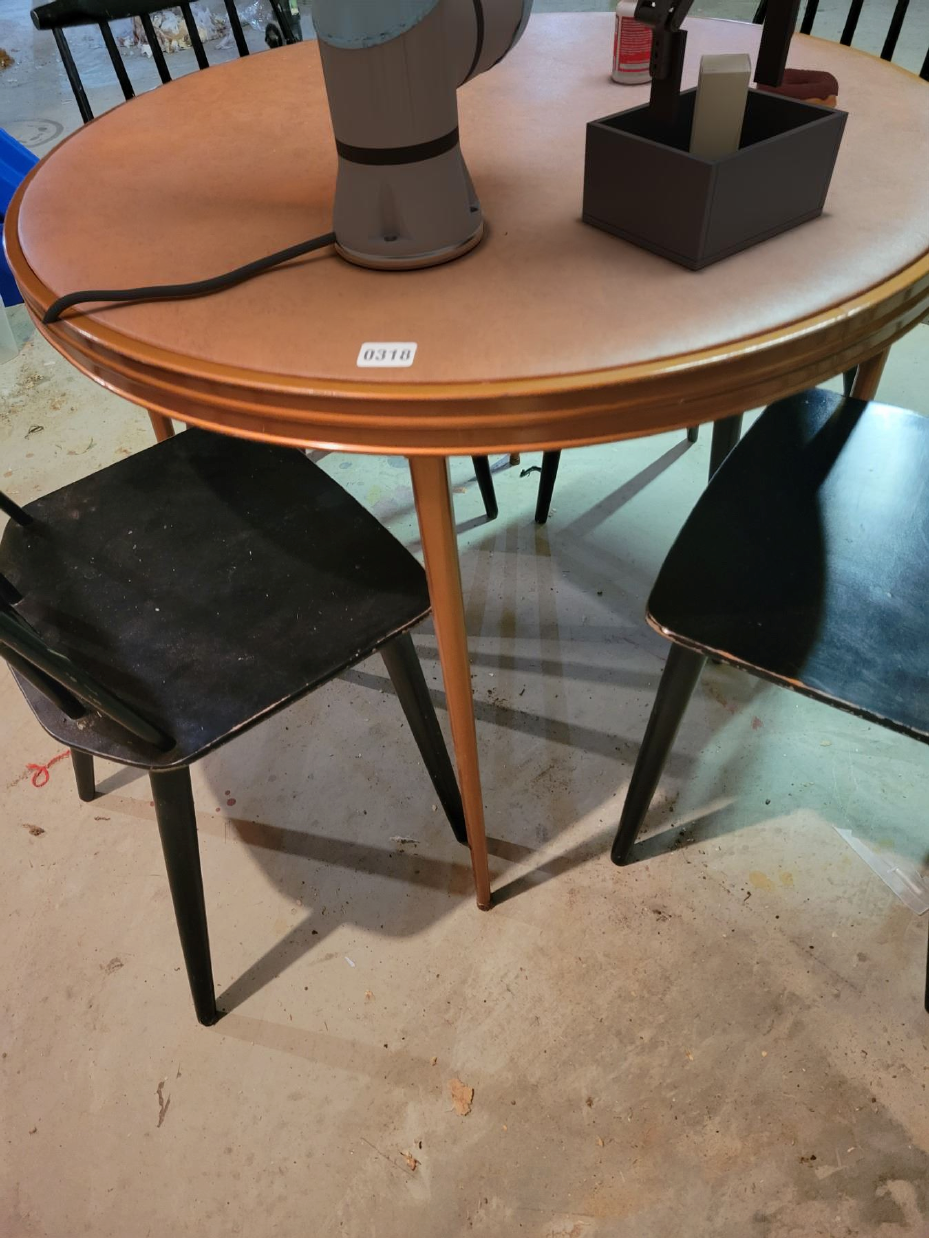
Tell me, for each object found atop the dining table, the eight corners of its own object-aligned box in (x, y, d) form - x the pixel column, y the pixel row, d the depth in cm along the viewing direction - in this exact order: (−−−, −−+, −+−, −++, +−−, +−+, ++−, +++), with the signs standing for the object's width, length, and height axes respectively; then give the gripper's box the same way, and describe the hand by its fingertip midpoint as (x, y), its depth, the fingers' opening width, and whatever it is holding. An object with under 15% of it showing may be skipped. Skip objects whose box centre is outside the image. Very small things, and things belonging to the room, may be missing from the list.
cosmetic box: (726, 221, 75) (754, 72, 66) (679, 220, 76) (700, 73, 66) (726, 195, 79) (751, 51, 70) (681, 195, 80) (700, 53, 70)
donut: (852, 110, 95) (862, 72, 92) (799, 130, 91) (808, 91, 88) (785, 94, 101) (792, 57, 98) (733, 112, 97) (739, 75, 94)
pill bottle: (664, 79, 108) (675, -22, 100) (627, 88, 106) (635, -14, 98) (638, 69, 112) (647, -29, 103) (603, 78, 110) (608, -21, 102)
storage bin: (694, 271, 70) (711, 165, 64) (581, 220, 79) (585, 122, 72) (821, 214, 76) (849, 112, 69) (703, 173, 85) (717, 79, 78)
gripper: (841, -261, 60) (775, 63, 76) (601, -232, 52) (584, 126, 68) (928, -266, 56) (840, 78, 72) (683, -235, 48) (644, 147, 64)
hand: (716, 102), depth 70 cm, fingers open, 13 cm apart
